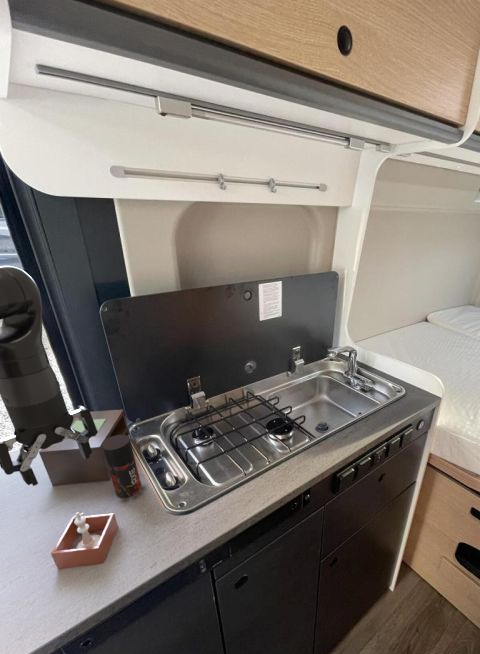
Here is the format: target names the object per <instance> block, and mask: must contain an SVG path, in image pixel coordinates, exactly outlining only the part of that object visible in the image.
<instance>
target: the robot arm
mask: <svg viewBox="0 0 480 654" xmlns="http://www.w3.org/2000/svg"><path fill="white" fill-rule="evenodd" d="M42 300H43V299H42V295H41V292H40V289H39V287H38V285H37V283H36V282H35V280H34V278H32V276H30V275H29V274H28V273H27V272H26V271H24V270H23V269H21V268H18V267H15V266H13V265H12V266H11V265H3V266H0V320H1V326H0V398H1V400H2V402H3V405H4V408H5V409H6V413H7V414H8V416H9V419H10V421H11V423H12V426H13V428H14V430H13V434H12V435H9V436H6V437H4V438H1V437H0V468H1V469H2V470H3V471H4V474H5V475H8V476H9V475H12V474H14V473H16V472H19V473H20V475H21V478H22V480H23V481H24V482H25V484H26V485H27V486H31V485H32V486H33V487H35V486H37V485H39V481H38V479H37V477H36V475H35V473H34V470H33V468H32V466H31V465H32V462H33V461H34V459H36V458H37V456H38V454H39V451H40V450H41V449H43V450H44V449H46V448H48V447H50V446H51V445H53V444H56V443H60V442H62V441H63V439H64V438H65V437H68V438H70V439H73V440H77V444H78V447H79V450H80V453H81V455H82V457H83V458H84V459H88V458H90V456H89V455H90V454H91V453H92V450H91V447H90V444H89V439H90V437H92V436H95V435H96V434H97V433H98V431H97V429H96V426H95V423H94V421H93V418H92V416H91V413H90V412H91V411H90V409H88V408H86V407H85V406H84V405H81V404H80V405H78V406H77V407H76V409H75V410H74V411H71V412H69V411H68V408H67V403H66V402H65V399H64V395H63V393H62V390H61V384H60V382H59V380H58V378H57V375H56V373H55V371H54V370H53V369H54V368H52V365H51V363H50V360H49V357H48V354H47V351H46V348H45V346H44V343H43V301H42ZM74 418H77V419H78V420H79V421H82V423H83V425H84V428H85V430H84V431H83V432H79V431H76V430H74V429H72V428H70V427H71V425H72V423H73V420H74ZM15 443H19V444H20V445H21V446H20V449H19V454H18V456H17V458H16V460H15V461H12V457H11V455H10V454H11V453H10V452H11V451H12V450H13V448H14V444H15Z"/></svg>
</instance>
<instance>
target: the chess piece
mask: <svg viewBox="0 0 480 654" xmlns="http://www.w3.org/2000/svg"><path fill="white" fill-rule="evenodd" d="M85 516H86V515H84V512H81V513H80V512H79V511H77V512H75V515H73V516H72V517H73V519H76V518H77V519H76V520H75V521H74V524H75V525H77V526H78V529H77V532H78V533H81V538H82V540H80V541H79V543H78V544H76V547H75V549H77V548H85V547H93V546H97V544H98V542H99V540H100V537H101V535H99V534H91V533H89V532H88V531H87V530H88V528H89V525H88V524H85V522H86V517H85Z"/></svg>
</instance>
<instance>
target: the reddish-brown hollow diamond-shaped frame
mask: <svg viewBox="0 0 480 654" xmlns="http://www.w3.org/2000/svg"><path fill="white" fill-rule="evenodd" d="M84 516H85V517H86V522H85V524H88V525H89V528H88V530H87V531H88V532H89V534H91V533H97V532H102V533H101V535H100V536H101V537H100V540H99V542H98V544H97V546H93V547H85V548H77V549H76V548H73V546H74V545H75V543H76V540H77V538H78V537H79V535H80V534H81V535H82V533H78V532H77V529H78V526H77V525H75V524H74V521H75V520H76V519H77V518H76V519H73V516H72V517H71V519H70V520H69V522H68V524H67V526H66V527H65V529H64V531H63V532H62V533H61V535H60V538H59V539H58V541H57V542H56V544H55V546H54V548H53V549H52V551H51V552H50V556H51V558H52V559H53V562H54V565H55V566H56V568H57V570H60V569H68V568H76V567H83V566H85V567H86V566H90V565H91V566H92V565H93V566H94V565H99V564H105V561H106V559H107V556H108V554H109V551H110V549H111V546H112V544H113V542H114V539H115V537H116V534H117V532H118V529H119V524H118V521H117V519H116V515H115V512H112V513H102V514H91V515H84Z"/></svg>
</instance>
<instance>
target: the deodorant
mask: <svg viewBox="0 0 480 654" xmlns="http://www.w3.org/2000/svg"><path fill="white" fill-rule="evenodd" d="M130 438H131V437H130ZM130 438H129V436H127V435H115V436H112V437H110V438H108V439H106V440H105V441H104V442H103V443H102V448H103V452H104V455H105V458H106V462H107V465H108V468H109V472H110V475H111V481H112V485H113V488H114V491H115V495H116V496H117V497H118V498H121V499H128V498H131V497H133V496H135V495H136V494H137V493H139V492H140V491H141V490H142V482H141V477H140V474H139V470H138V466H137V463H136V458H135V454H134V450H133V446H132V442H131V439H130Z"/></svg>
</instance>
